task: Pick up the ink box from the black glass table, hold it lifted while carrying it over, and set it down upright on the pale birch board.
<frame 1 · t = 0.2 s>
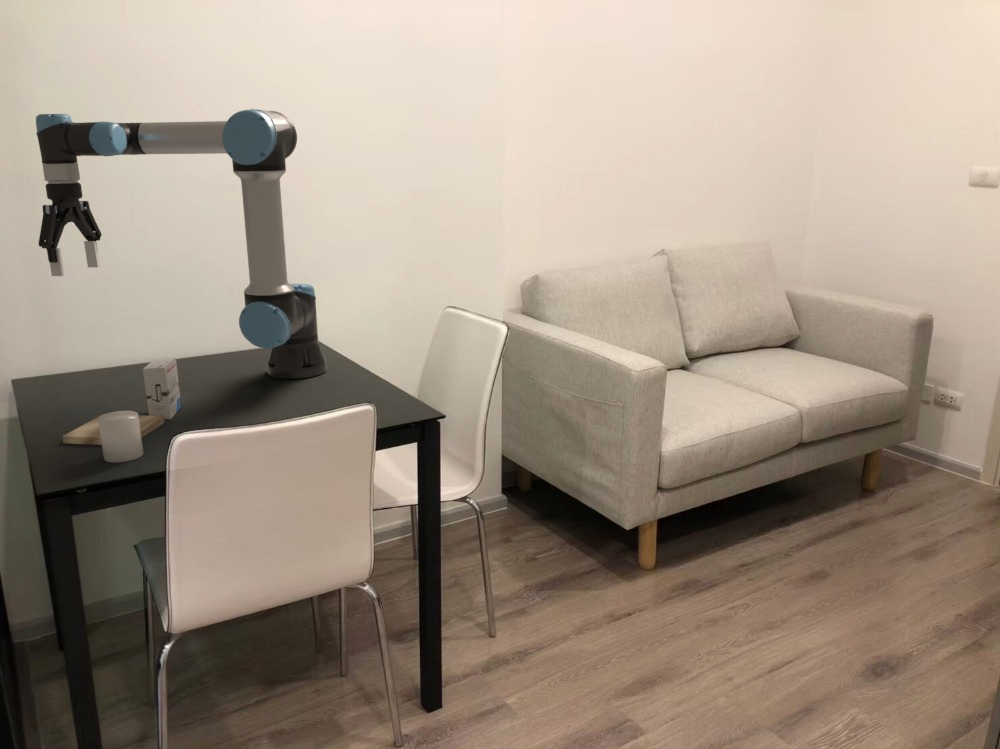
hand: (76, 271, 203), 28 cm above the table, fingers open, 13 cm apart
birch board: (115, 432, 173), on the table
ink box: (165, 414, 185), on the table
white frosted cylinder: (123, 455, 161), on the table
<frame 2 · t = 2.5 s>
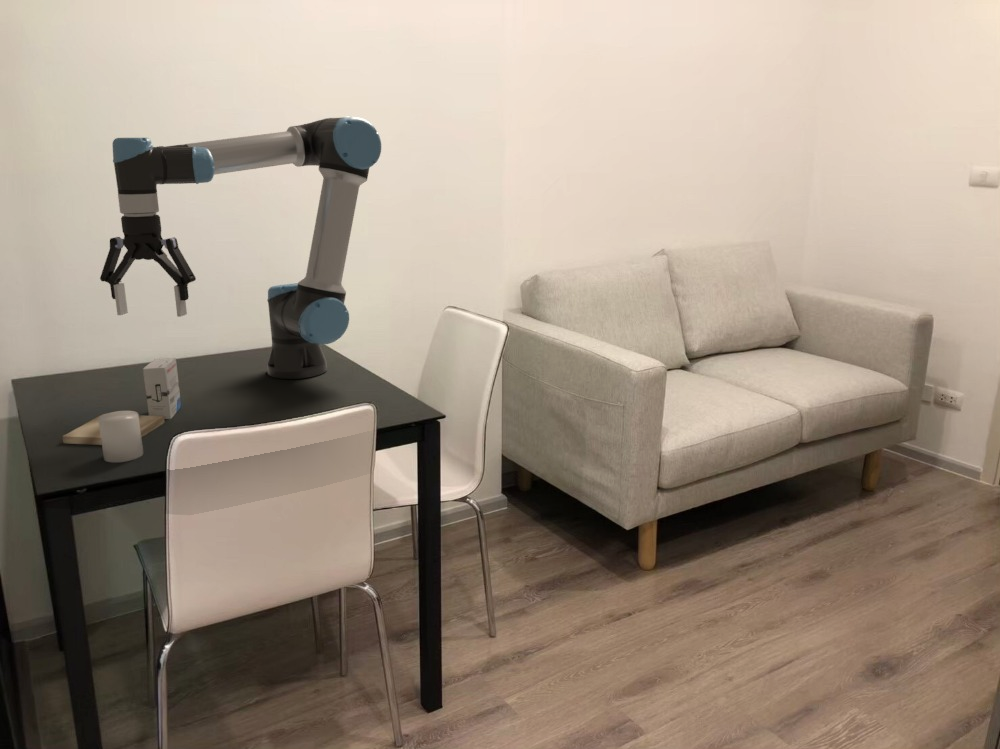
hand: (152, 314, 179), 22 cm above the table, fingers open, 13 cm apart
nothing on the table moved.
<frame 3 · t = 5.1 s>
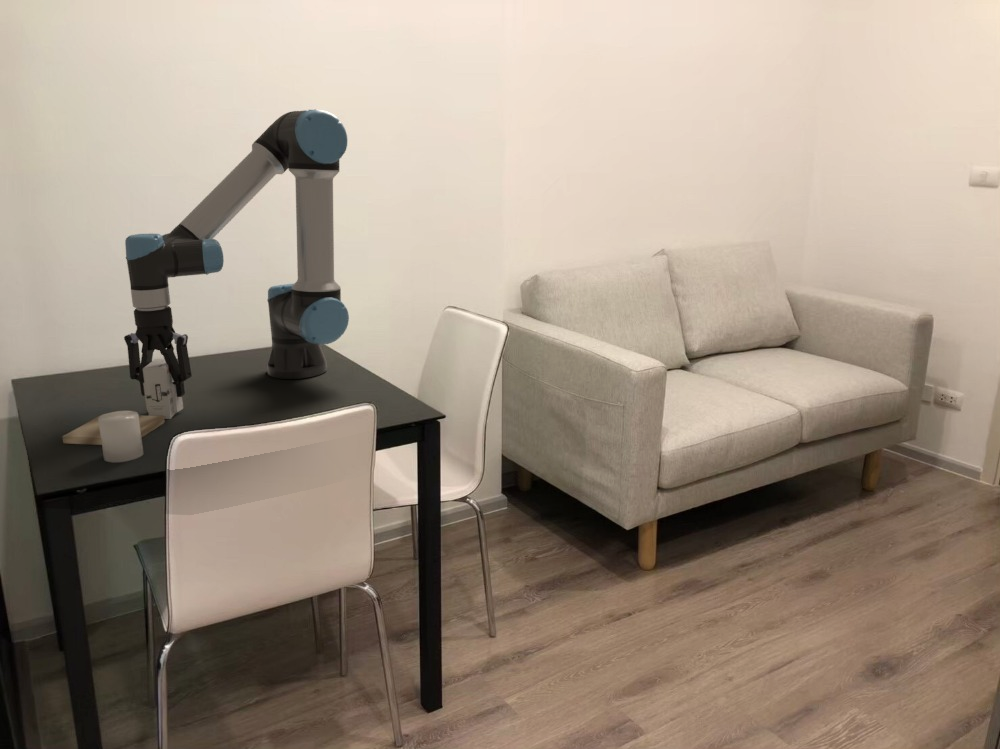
hand: (165, 409, 185), 1 cm above the table, fingers closed on ink box, 6 cm apart
ink box: (165, 414, 185), on the table, touching gripper
everything else where it was.
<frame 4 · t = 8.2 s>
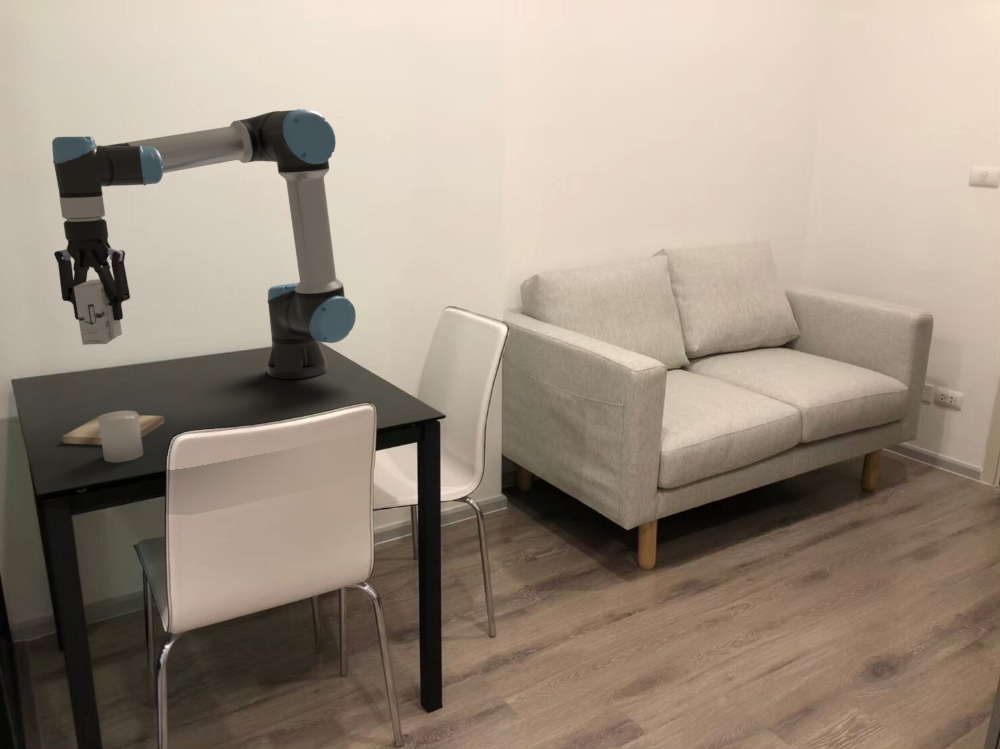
hand: (101, 335, 168), 21 cm above the table, fingers closed on ink box, 6 cm apart
ink box: (102, 340, 168), point 20 cm above the table, touching gripper
everything else where it was.
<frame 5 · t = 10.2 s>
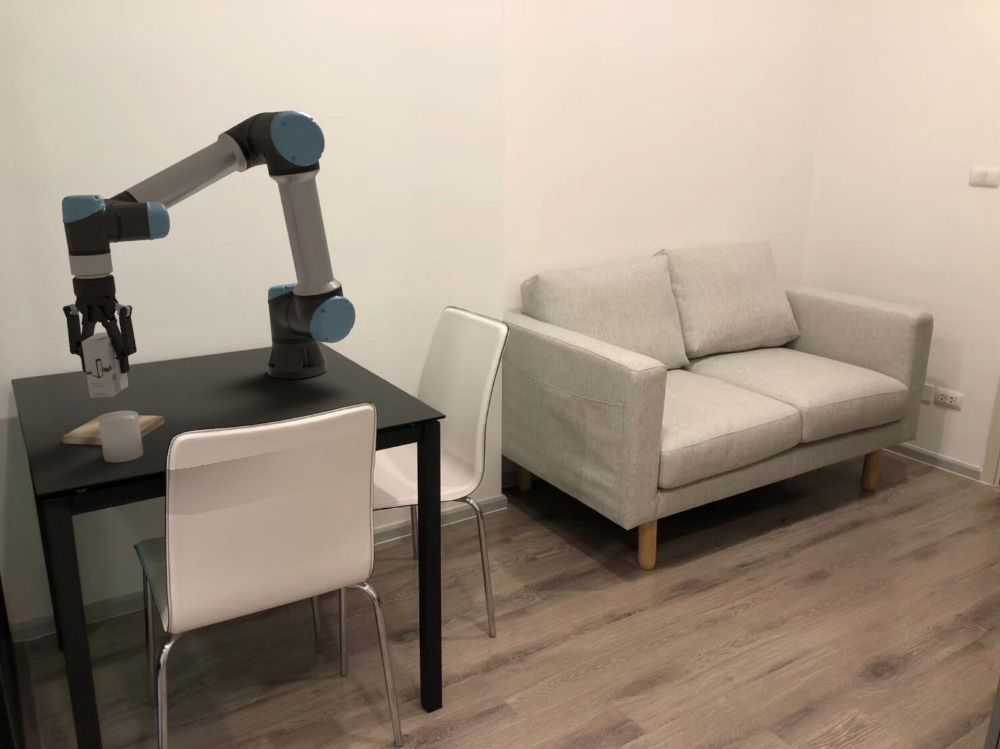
hand: (108, 387, 171), 10 cm above the table, fingers closed on ink box, 6 cm apart
ink box: (109, 392, 171), point 9 cm above the table, touching gripper
everything else where it was.
when the fingers open (4 cm above the table, at t = 11.7 s): ink box drops 1 cm, resting on birch board.
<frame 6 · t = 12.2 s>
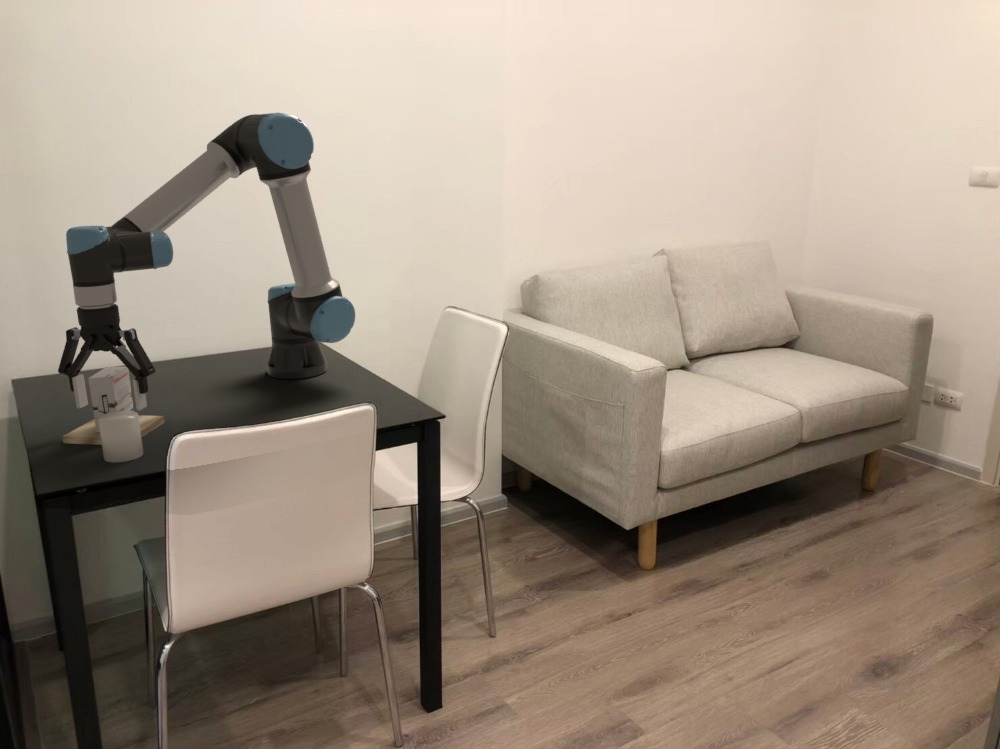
hand: (112, 407, 172), 6 cm above the table, fingers open, 12 cm apart
ink box: (116, 426, 173), point 1 cm above the table, touching birch board
everything else where it was.
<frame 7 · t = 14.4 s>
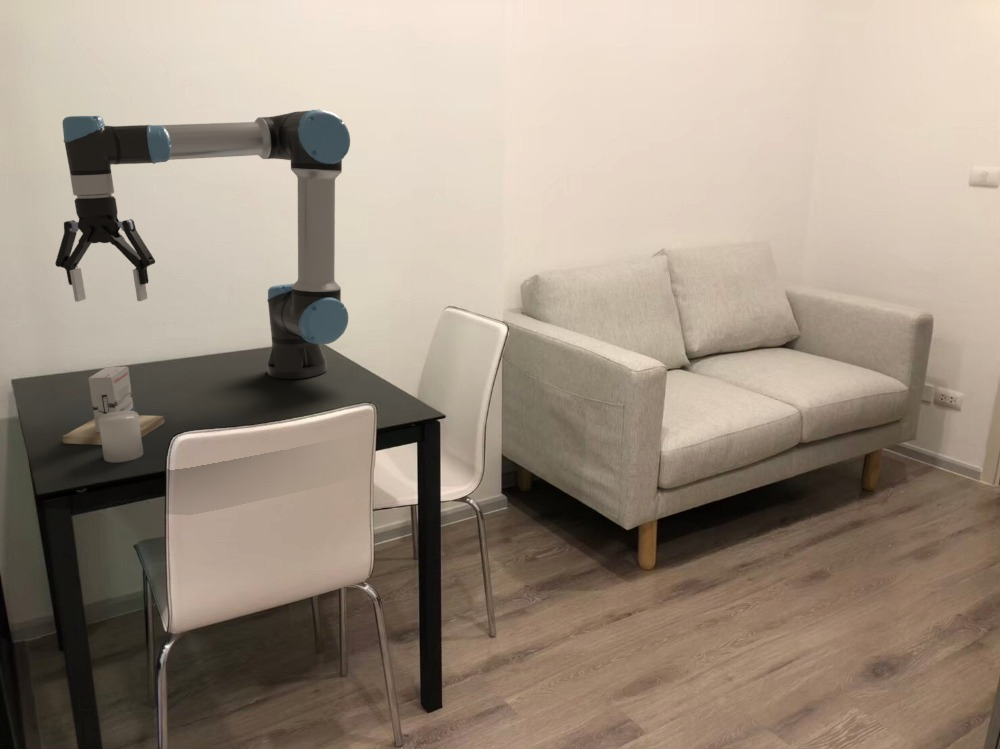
hand: (111, 300, 174), 26 cm above the table, fingers open, 13 cm apart
nothing on the table moved.
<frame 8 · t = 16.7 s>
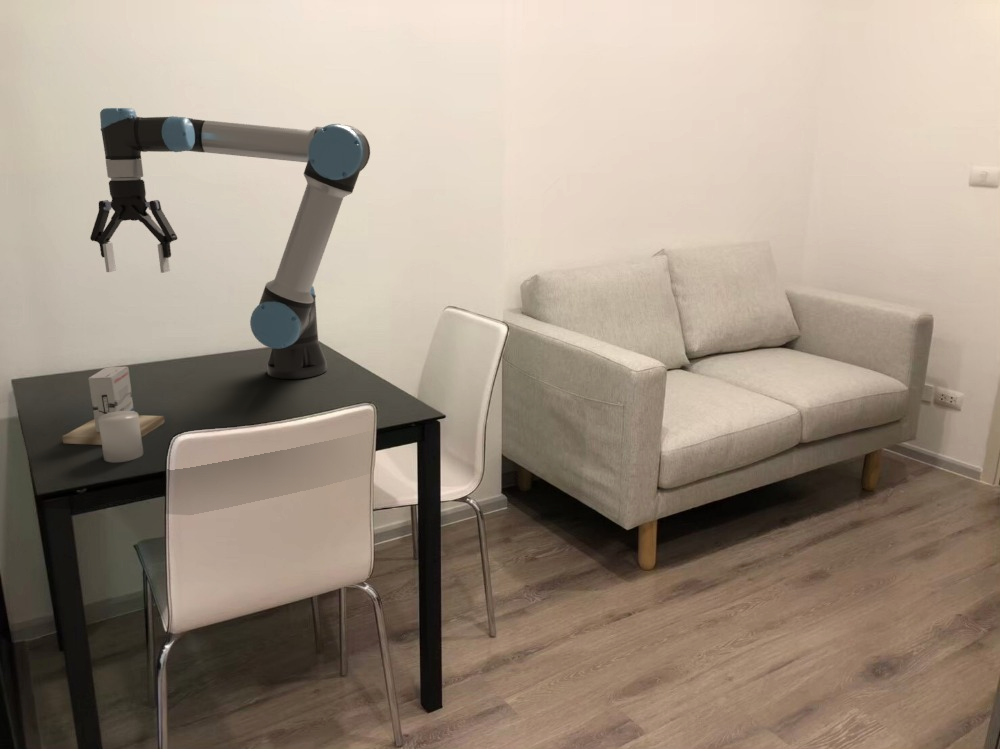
hand: (138, 271, 196), 29 cm above the table, fingers open, 13 cm apart
nothing on the table moved.
at the end: ink box inside the target area on the birch board (0.3 cm from its centre), point 1.3 cm above the birch board's base; ink box tilted 0°; the gripper is holding nothing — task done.
